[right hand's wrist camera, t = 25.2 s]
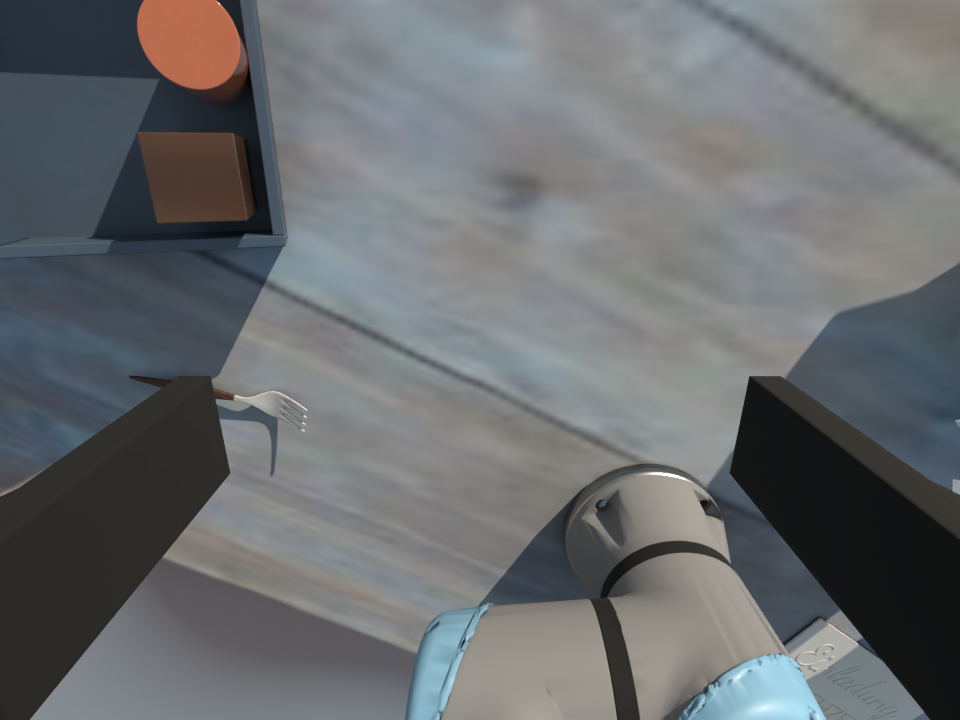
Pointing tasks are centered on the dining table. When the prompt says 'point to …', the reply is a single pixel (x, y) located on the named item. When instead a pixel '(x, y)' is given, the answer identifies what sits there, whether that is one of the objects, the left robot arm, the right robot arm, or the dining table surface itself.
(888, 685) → the invitation card
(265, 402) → the fork
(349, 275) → the dining table surface
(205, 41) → the terracotta cylinder
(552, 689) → the right robot arm
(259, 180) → the tray
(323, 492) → the dining table surface
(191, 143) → the walnut block
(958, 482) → the white plastic object
